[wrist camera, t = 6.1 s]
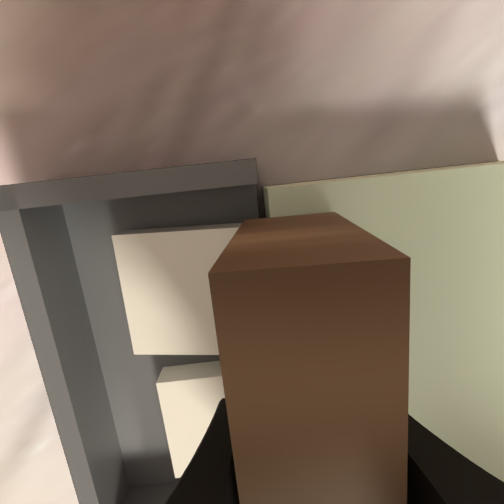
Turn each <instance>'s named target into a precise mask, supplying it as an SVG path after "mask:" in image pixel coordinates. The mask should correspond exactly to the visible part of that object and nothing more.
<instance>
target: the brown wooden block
mask: <svg viewBox="0 0 504 504" xmlns="http://www.w3.org/2000/svg"><path fill="white" fill-rule="evenodd" d="M410 269H411V258H410V257H409V256H407V255H405V254H404V253H402V252H400V251H399V250H397V249H395V248H394V247H392V246H390V245H389V244H387V243H386V242H384V241H382V240H381V239H379V238H377V237H376V236H374V235H372V234H371V233H369V232H367V231H366V230H364V229H362V228H361V227H359V226H357V225H356V224H354V223H352V222H351V221H349V220H347V219H346V218H344V217H342V216H341V215H339V214H337V213H336V212H326V213H315V214H304V215H293V216H282V217H271V218H260V219H249V220H244V221H243V223H242V224H241V226H240V227H239V228H238V230H237V231H236V233H235V234H234V236H233V237H232V239H231V240H230V242H229V243H228V244H227V246H226V247H225V249H224V250H223V252H222V253H221V255H220V256H219V258H218V259H217V261H216V262H215V263H214V265H213V266H212V268H211V269H210V271H209V272H208V278H209V285H210V293H211V300H212V307H213V314H214V322H215V329H216V336H217V343H218V351H219V358H220V365H221V372H222V379H223V387H224V394H225V401H226V408H227V416H228V423H229V430H230V437H231V445H232V452H233V459H234V466H235V473H236V481H237V488H238V495H239V502H240V504H407V465H408V400H409V334H410Z"/></svg>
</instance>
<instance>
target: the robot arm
mask: <svg viewBox="0 0 504 504" xmlns="http://www.w3.org/2000/svg"><path fill="white" fill-rule="evenodd" d="M164 504H240V502H239V495H238V488H237V481H236V473H235V466H234V459H233V452H232V445H231V437H230V430H229V423H228V416H227V408H226V401H225V398H222V399H221V400H220V401H219V403H218V406H217V409H216V411H215V413H214V416H213V418H212V420H211V422H210V425H209V427H208V429H207V431H206V433H205V435H204V437H203V439H202V441H201V442H200V444H199V446H198V448H197V450H196V452H195V454H194V456H193V457H192V459H191V461H190V463H189V464H188V466H187V468H186V469H185V471H184V473H183V474H182V476H181V478H180V479H179V481H178V483H177V484H176V486H175V488H174V489H173V491H172V492H171V494H170V495H169V497H168V498H167V500H166V501H165V503H164ZM407 504H504V482H503V481H501V480H500V479H498V478H496V477H495V476H493V475H492V474H490V473H488V472H487V471H485V470H484V469H482V468H481V467H479V466H478V465H476V464H475V463H473V462H472V461H470V460H469V459H468V458H466V457H465V456H463V455H462V454H461V453H459V452H458V451H456V450H455V449H454V448H452V447H451V446H449V445H448V444H446V443H445V442H444V441H442V440H441V439H440V438H438V437H437V436H436V435H434V434H433V433H432V432H430V431H429V430H428V429H427V428H425V427H424V426H423V425H422V424H420V423H419V422H418V421H416V420H415V419H414V418H413V417H412V416H410V415H409V414H408V465H407Z"/></svg>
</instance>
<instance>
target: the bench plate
mask: <svg viewBox="0 0 504 504" xmlns="http://www.w3.org/2000/svg"><path fill="white" fill-rule="evenodd" d="M263 194H264V205H265V215H266V218H271V217H282V216H293V215H304V214H315V213H326V212H336V213H337V214H339V215H341V216H342V217H344V218H346V219H347V220H349V221H351V222H352V223H354V224H356V225H357V226H359V227H361V228H362V229H364V230H366V231H367V232H369V233H371V234H372V235H374V236H376V237H377V238H379V239H381V240H382V241H384V242H386V243H387V244H389V245H390V246H392V247H394V248H395V249H397V250H399V251H400V252H402V253H404V254H405V255H407V256H409V257H410V258H411V269H410V334H409V400H408V414H409V415H410V416H412V417H413V418H414V419H415V420H416V421H418V422H419V423H420V424H422V425H423V426H424V427H425V428H427V429H428V430H429V431H430V432H432V433H433V434H434V435H436V436H437V437H438V438H440V439H441V440H442V441H444V442H445V443H446V444H448V445H449V446H451V447H452V448H454V449H455V450H456V451H458V452H459V453H461V454H462V455H463V456H465V457H466V458H468V459H469V460H470V461H472V462H473V463H475V464H476V465H478V466H479V467H481V468H482V469H484V470H485V471H487V472H488V473H490V474H492V475H493V476H495V477H496V478H498V479H500V480H501V481H503V482H504V161H496V162H487V163H477V164H468V165H459V166H449V167H440V168H431V169H421V170H412V171H403V172H394V173H384V174H375V175H366V176H356V177H347V178H338V179H328V180H319V181H310V182H300V183H291V184H282V185H272V186H263Z"/></svg>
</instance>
